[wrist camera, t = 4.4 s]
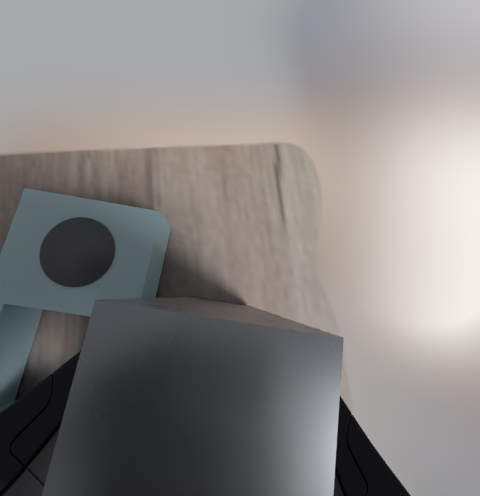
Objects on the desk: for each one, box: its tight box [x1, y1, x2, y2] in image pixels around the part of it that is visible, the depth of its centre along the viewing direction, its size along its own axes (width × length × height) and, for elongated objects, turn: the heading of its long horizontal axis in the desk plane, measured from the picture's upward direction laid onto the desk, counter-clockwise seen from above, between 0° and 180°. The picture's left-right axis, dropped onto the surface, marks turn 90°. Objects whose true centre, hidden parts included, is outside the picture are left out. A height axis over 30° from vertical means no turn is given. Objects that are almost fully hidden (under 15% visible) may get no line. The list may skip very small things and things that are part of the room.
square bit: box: [42, 297, 343, 496], centre depth 10 cm, size 4×4×12 cm
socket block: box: [0, 188, 171, 413], centre depth 14 cm, size 14×8×3 cm, turn 171°
